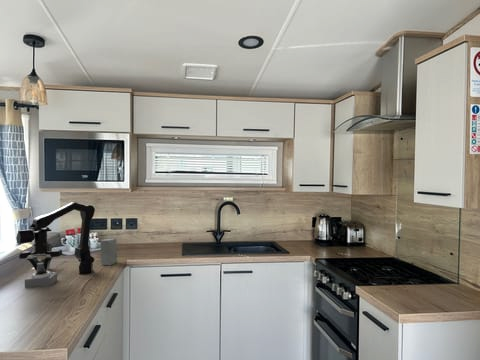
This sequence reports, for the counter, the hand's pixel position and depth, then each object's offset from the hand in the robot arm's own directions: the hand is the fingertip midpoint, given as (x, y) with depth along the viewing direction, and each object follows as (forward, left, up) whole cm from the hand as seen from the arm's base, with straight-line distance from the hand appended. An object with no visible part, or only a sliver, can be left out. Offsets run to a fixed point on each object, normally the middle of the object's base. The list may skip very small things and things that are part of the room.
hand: (41, 270), depth 167 cm
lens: (0, 0, -2) cm, 2 cm away
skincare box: (-27, -32, -7) cm, 43 cm away
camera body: (0, 0, -7) cm, 7 cm away
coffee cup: (+9, -27, -7) cm, 30 cm away
